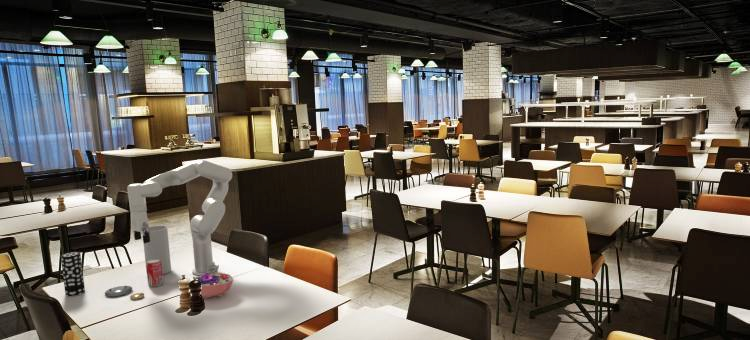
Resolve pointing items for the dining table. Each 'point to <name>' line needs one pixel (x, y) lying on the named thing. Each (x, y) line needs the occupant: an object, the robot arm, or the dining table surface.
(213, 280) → the cell model
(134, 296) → the disc
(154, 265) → the soda can
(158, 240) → the cylinder vase
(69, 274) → the white-spotted black cylinder
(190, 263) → the dining table surface
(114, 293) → the disc
